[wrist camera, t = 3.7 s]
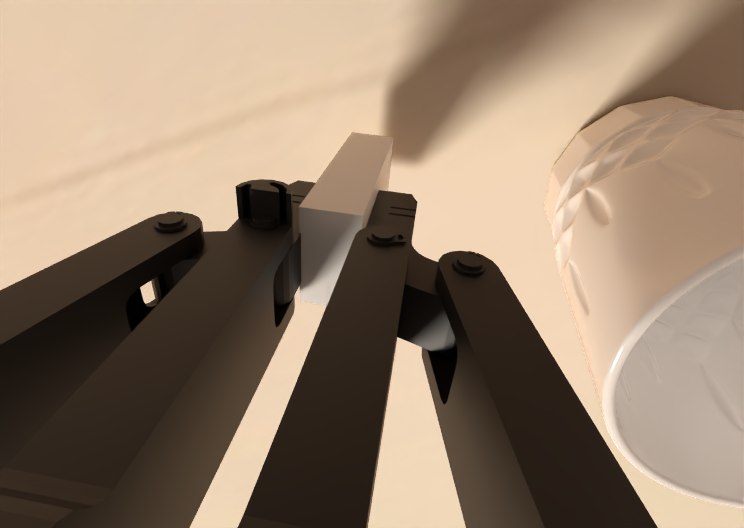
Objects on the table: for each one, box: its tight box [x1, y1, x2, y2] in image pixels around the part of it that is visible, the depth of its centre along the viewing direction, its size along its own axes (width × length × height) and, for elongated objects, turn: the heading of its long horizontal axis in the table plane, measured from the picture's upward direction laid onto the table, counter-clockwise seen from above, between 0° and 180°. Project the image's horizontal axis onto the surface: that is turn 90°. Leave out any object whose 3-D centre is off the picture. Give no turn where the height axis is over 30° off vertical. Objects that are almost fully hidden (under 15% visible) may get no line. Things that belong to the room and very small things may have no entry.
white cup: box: [544, 96, 744, 508], centre depth 12 cm, size 8×8×10 cm
